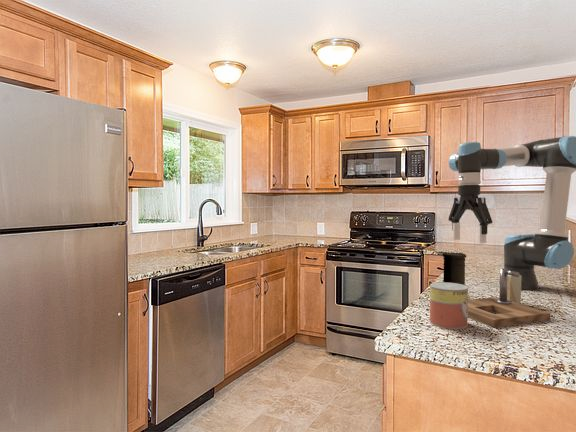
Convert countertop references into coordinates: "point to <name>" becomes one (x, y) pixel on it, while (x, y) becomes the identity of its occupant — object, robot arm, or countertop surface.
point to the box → (514, 289)
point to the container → (454, 268)
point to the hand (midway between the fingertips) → (468, 241)
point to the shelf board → (503, 313)
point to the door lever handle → (505, 285)
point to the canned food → (449, 305)
